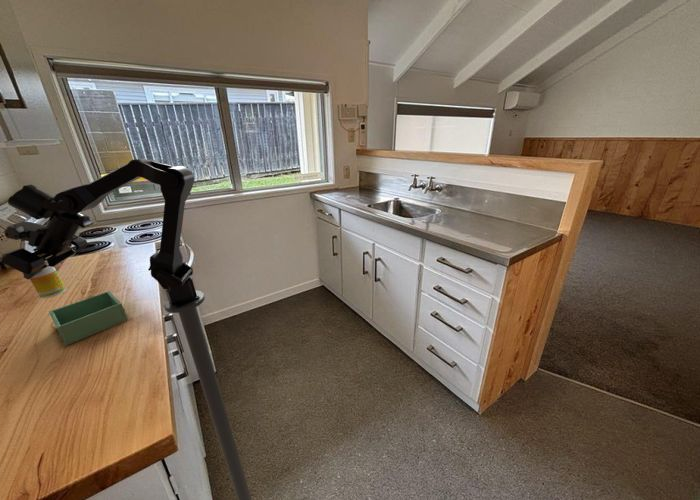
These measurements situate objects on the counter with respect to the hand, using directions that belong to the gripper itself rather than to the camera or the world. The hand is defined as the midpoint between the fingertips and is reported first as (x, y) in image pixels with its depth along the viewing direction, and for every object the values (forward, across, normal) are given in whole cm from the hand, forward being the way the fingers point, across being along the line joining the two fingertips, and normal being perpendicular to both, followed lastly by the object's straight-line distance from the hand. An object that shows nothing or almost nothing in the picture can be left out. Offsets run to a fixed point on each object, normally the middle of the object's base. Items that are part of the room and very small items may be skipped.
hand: (36, 273), depth 76 cm
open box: (-1, +8, +20) cm, 22 cm away
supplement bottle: (+4, 0, +6) cm, 7 cm away
